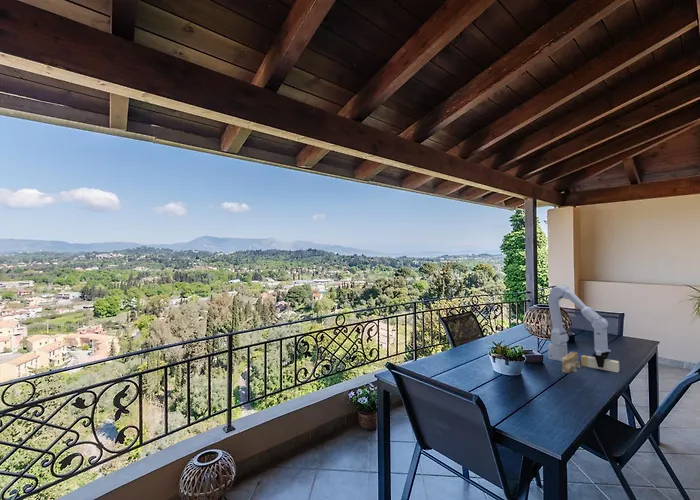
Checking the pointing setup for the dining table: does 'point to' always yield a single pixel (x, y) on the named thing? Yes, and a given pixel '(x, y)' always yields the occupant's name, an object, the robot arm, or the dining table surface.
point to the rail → (591, 362)
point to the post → (570, 362)
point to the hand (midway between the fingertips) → (601, 365)
